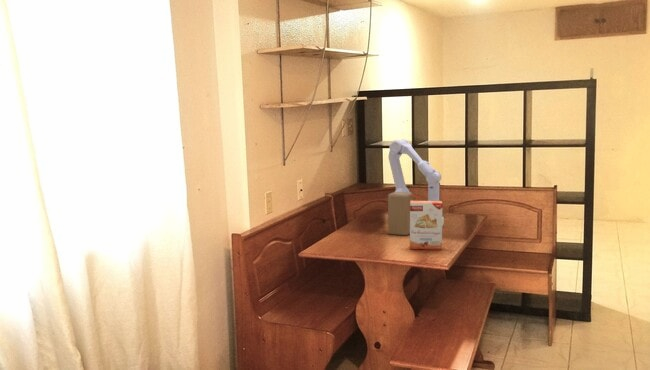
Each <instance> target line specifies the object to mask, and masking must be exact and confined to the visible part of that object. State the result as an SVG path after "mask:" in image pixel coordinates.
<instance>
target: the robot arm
mask: <svg viewBox="0 0 650 370" xmlns="http://www.w3.org/2000/svg"><path fill="white" fill-rule="evenodd" d="M388 148H389V151H388V162H389V165H390V170H391V174H392V177H393V178H392V179H393V182H394V187H395V190H394V192H410V190H409V188H408V187H407V186H406V182H405V177H404V172H403V169H402V165H401V160H400V158H401V156H402V155H404V154H405V155H408V156H409V158H410V159H411V160H413V162H414V163H415V164H417V169H418V170H419V172H420V173H422V175H423V176H424V177H425V180H426V182H427V184H428V185H427V189H428V190H427V191H428V192H427V201H440V182H441V180H442V174H441V173H440V171H437V170H436V169H435V168H433V166H431V163H430V162H429V161H427V160H423V159H422V158H421V156H420V155H419V154H418V152H417V151H416V150H415V149H414V148H413V146H412V144H411V143H410V142H408V140H407V139H403V138H402V139H400V140H395V139H394V140H393V141H392V142H391V143H390V144H389V146H388Z"/></svg>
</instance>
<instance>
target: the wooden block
mask: <svg viewBox="0 0 650 370" xmlns="http://www.w3.org/2000/svg"><path fill="white" fill-rule="evenodd" d="M413 197H414V195H413V192H411V191H409V192H395V191H393V192H390V193H388V195H387V206H388V207H387V227H388V228H387V233H388V235H391V236H392V235H395V236H403V237H404V236H405V237H406V236H408V235H410V201H414V198H413Z"/></svg>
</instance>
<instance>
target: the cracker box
mask: <svg viewBox="0 0 650 370" xmlns="http://www.w3.org/2000/svg"><path fill="white" fill-rule="evenodd" d="M442 217H443V201H442V200H439V201H428V200H413V201H410V234H409V250H433V251H434V250H437V251H440V250H441V251H442V250H443V226H442Z"/></svg>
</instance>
